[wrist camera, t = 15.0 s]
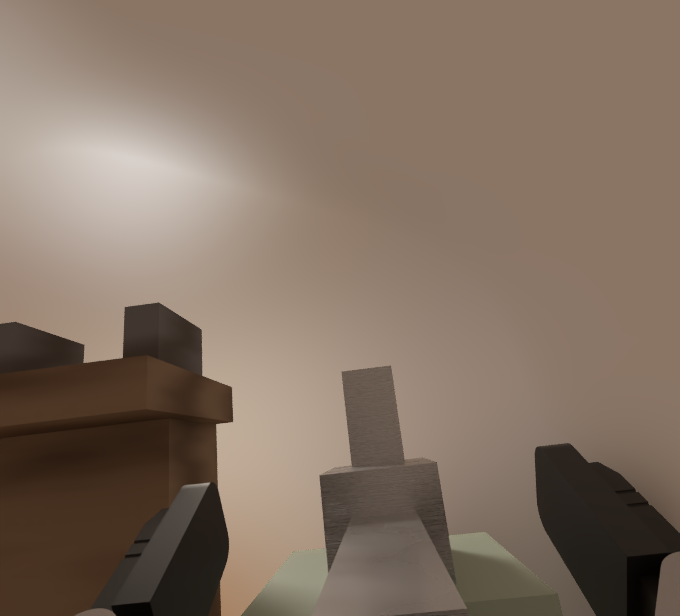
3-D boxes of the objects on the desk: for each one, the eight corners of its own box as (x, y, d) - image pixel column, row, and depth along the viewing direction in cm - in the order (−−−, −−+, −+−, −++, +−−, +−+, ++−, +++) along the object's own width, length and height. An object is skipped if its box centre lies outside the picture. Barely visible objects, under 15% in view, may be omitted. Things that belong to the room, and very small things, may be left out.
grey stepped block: (578, 810, 6) (458, 236, 8) (250, 833, 6) (230, 268, 9) (436, 546, 21) (408, 370, 24) (343, 555, 21) (326, 380, 24)
